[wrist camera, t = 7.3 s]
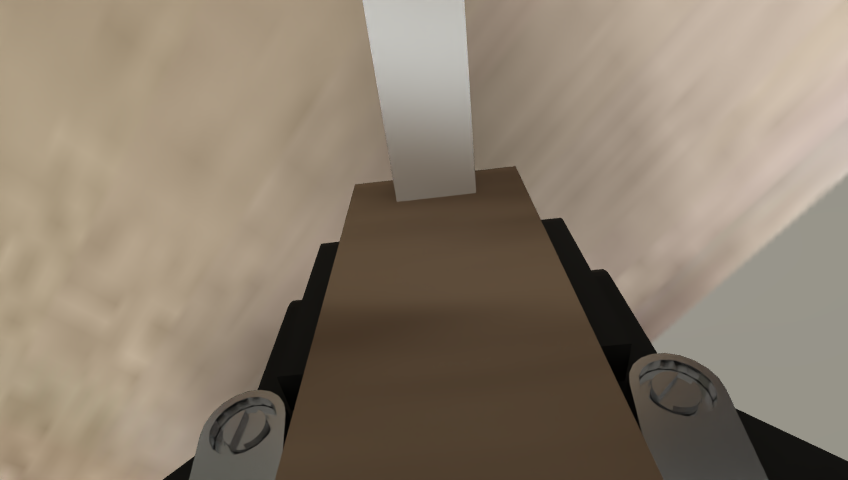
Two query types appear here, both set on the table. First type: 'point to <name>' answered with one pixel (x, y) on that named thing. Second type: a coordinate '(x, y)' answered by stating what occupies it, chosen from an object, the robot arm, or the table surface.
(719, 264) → the table surface
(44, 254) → the table surface
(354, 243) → the brown wooden block
